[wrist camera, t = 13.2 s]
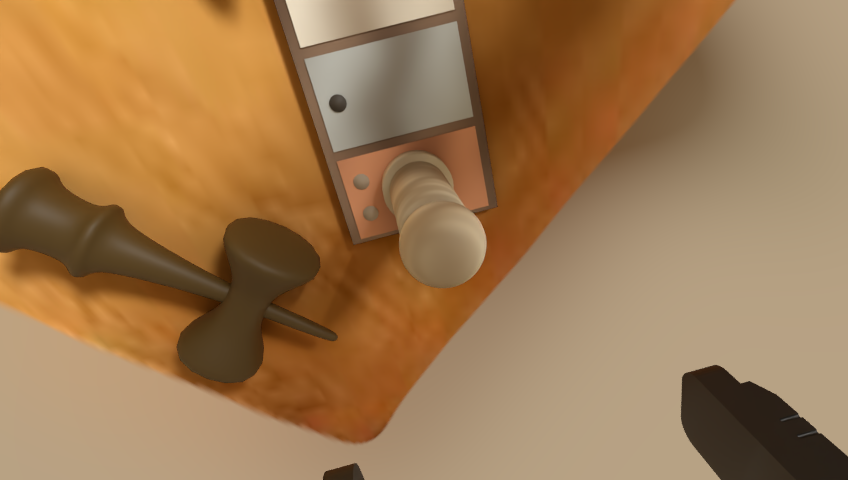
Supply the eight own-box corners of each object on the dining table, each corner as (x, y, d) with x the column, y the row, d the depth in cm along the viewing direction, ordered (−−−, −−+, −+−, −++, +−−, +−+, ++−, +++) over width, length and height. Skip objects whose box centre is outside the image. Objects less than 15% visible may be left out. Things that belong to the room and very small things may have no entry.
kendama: (64, 116, 26) (371, 262, 32) (23, 249, 29) (311, 360, 35) (-16, 139, 21) (371, 309, 27) (-55, 298, 24) (300, 420, 30)
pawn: (441, 141, 28) (492, 203, 18) (455, 205, 30) (509, 292, 20) (373, 160, 28) (386, 232, 18) (391, 223, 30) (413, 320, 20)
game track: (441, -112, 24) (444, -118, 23) (494, 202, 32) (498, 207, 31) (253, -67, 24) (249, -71, 23) (353, 240, 31) (353, 245, 30)
